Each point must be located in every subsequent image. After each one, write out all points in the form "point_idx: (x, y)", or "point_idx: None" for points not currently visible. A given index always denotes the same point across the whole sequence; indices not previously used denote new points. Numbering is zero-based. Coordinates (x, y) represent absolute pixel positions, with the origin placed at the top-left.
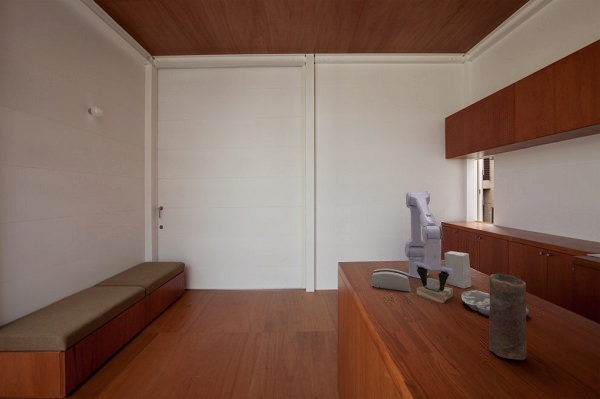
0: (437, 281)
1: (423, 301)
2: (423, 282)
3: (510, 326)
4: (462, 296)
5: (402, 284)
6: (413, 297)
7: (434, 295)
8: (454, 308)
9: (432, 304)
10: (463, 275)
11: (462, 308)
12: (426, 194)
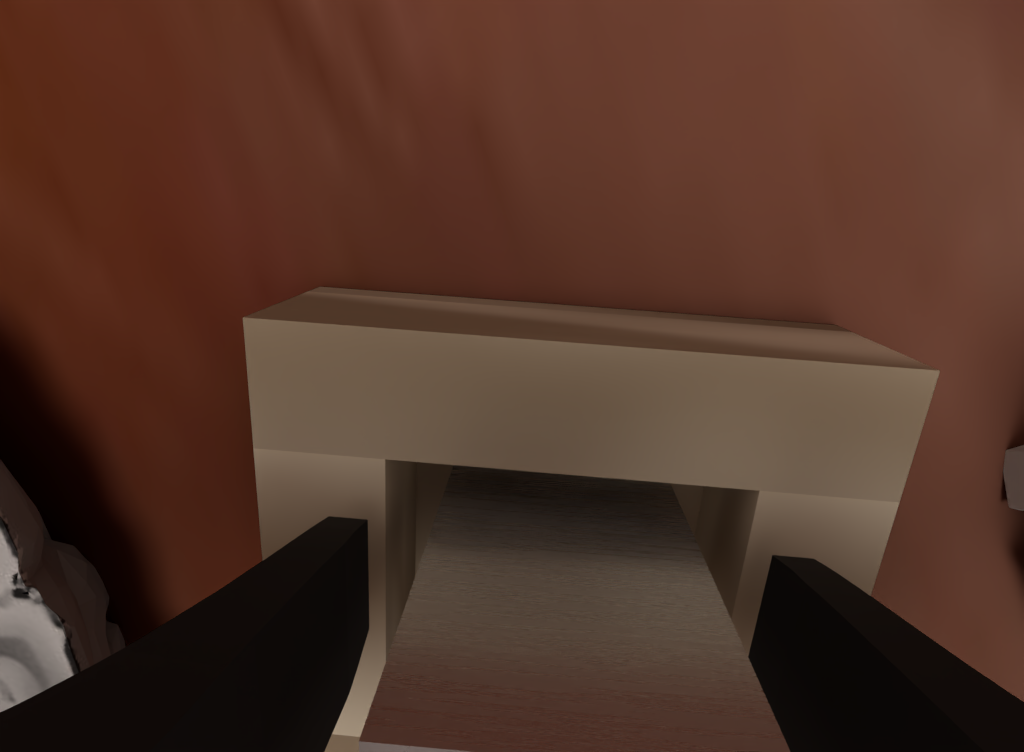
0: (367, 739)
1: (631, 102)
2: (854, 618)
3: None
4: (8, 575)
5: None
6: (873, 171)
7: (454, 320)
8: (88, 192)
9: (435, 77)
10: None
11: (13, 293)
12: None
